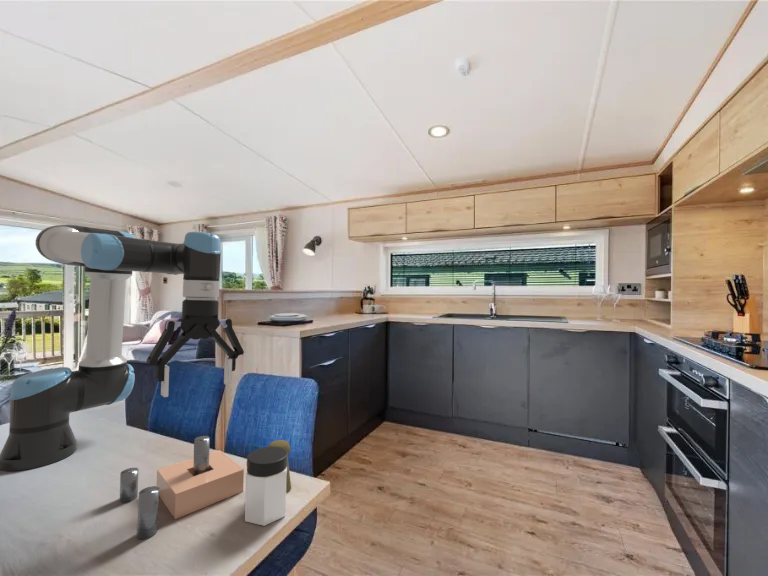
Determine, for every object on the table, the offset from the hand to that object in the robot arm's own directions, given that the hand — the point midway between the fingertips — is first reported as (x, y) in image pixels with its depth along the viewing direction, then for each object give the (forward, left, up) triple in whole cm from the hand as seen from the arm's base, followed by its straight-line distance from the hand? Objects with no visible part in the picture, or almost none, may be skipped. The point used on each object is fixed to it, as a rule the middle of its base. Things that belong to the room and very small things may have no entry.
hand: (198, 390), depth 80 cm
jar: (+19, +8, -23) cm, 31 cm away
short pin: (-7, -11, -23) cm, 27 cm away
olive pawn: (+13, +14, -23) cm, 30 cm away
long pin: (+1, +1, -23) cm, 23 cm away
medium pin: (+9, -11, -23) cm, 27 cm away
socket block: (+1, +1, -23) cm, 23 cm away
